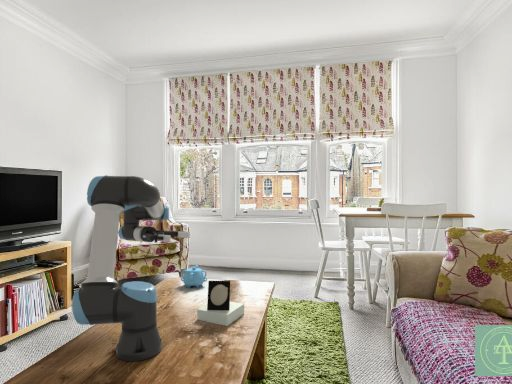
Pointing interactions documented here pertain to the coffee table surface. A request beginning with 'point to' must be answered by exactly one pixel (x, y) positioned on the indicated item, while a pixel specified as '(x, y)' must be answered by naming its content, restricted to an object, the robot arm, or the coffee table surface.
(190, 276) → the blue ceramic pot
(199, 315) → the sage block
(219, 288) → the decorative object
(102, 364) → the coffee table surface
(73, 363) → the coffee table surface
